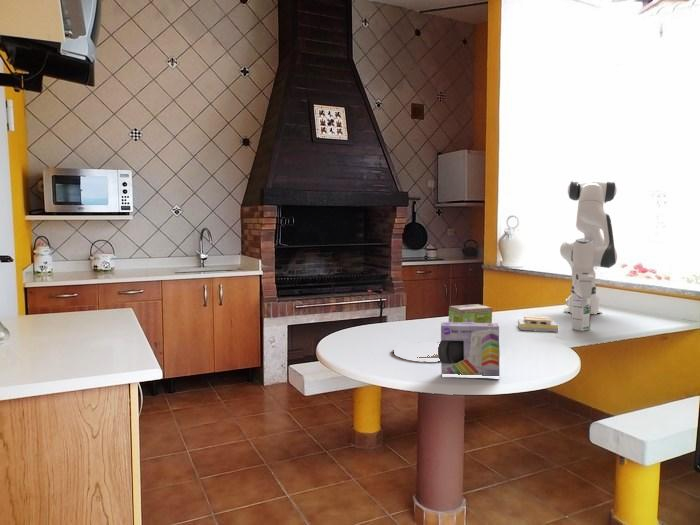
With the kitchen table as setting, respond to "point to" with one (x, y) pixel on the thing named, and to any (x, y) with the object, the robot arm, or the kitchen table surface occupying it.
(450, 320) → the tea box
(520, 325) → the dock
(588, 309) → the syrup box
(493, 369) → the cake pan box
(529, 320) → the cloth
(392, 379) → the kitchen table surface
